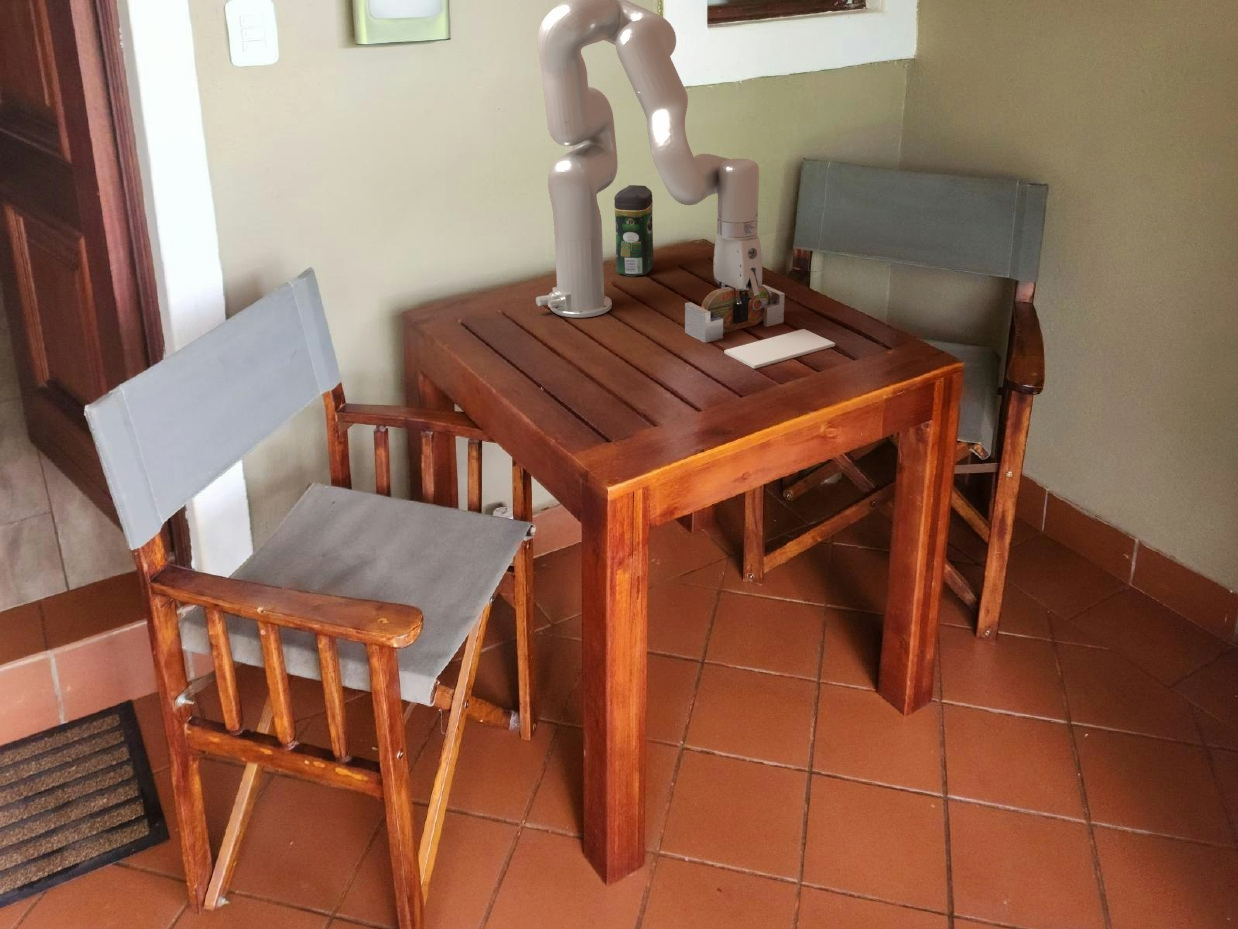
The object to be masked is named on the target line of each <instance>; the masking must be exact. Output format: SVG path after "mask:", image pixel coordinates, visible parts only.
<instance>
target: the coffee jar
mask: <svg viewBox="0 0 1238 929" xmlns="http://www.w3.org/2000/svg"><path fill="white" fill-rule="evenodd" d="M613 199H614V201H613V202H614V204H613V205H614V207H613V208H614V222H615V260H616V261H615V270H616V273H617V274H618V275H619V274H620V275H623V276H626V277H636V276H645V275H647V274H649V273H650V271H651V270H652V269H653V268H654V264H655V263H654V262H655V260H654V259H655V258H654V236H653V234H654V232H653V230H654V228H653V203H654V202H653V192H652V190H651V189H650V188H649V187H647V186H646V185H637V184H636V185H635V184H633V185H632V184H630V185H628V186H626V187H624V188H622V189H620V190H619V191H618V192H617V193H616V194H615V196H614V198H613Z"/></svg>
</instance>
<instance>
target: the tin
mask: <svg viewBox="0 0 1238 929" xmlns="http://www.w3.org/2000/svg"><path fill="white" fill-rule="evenodd" d="M762 285H763V284H762ZM762 285H761V286H760V287H758V291H759V295H758V296H755V297H753V298H752V299H751V302H749V306H748V321H746V322H742V323H738V324H735V323H734V322H733V309H734V304H736V290H735V288H733V287H731V286H730V287H726V288H721V289H720V288H718V289H717V288H716V289H715V290H712V291H710V292H709V293H708V294H707V295H706V296H705V298H704V299H703V301H702V303H701V306H700V307H702V308H704V309H706V310H708V311H710V319H714V318H718V317H721V318H723V334H726V333H729V332H733V331H737V330H741V329H744V328H749V327H753V326H756V325H758V324H760V323H761V322H762V321H764V306H766V305H770V294H769V292H768V290H767V289H766V288H765V287H764V286H762ZM744 293H745V291H743V292H741V294H742V295H743V294H744Z"/></svg>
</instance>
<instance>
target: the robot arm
mask: <svg viewBox="0 0 1238 929" xmlns="http://www.w3.org/2000/svg"><path fill="white" fill-rule="evenodd" d="M603 41H606V42H607V43H610V44H612V45H614V46H615V49H616V54H617V56H618V59H619V61H620V63H621V65H622V67H623V69H624V72H625V73H626V76H627V78H628V81H629V82H630V84H631V87H632V89H633V91H634V93H635V95H636V98H637V100H638V103H639V104H640V106H641V108H642V111H643V112H644V115H645V118H646V127H647V130H646V131H647V135H648V141H649V142H648V143H649V147H650V151H651V152H650V153H651V156H652V159H653V161H654V165H655V167H656V170H657V171H658V175H659V176H660V178H661V181H662V182H663V184H664V186H665V188H666V190H667V192H668V193H669V195H670V196H671V197H672V198H673V199H674V200H675V202H678V203H679V204H681V205H684V206H694V205H697V204H699V203H701V202H702V201H704V200H705V199H706V198H708V197H710V196H712V195H715V194H717V225H716V228H717V231H716V237H715V243H714V251H713V252H714V253H713V280H714V281H715V283H717V286H718V288H719V289H721V288H726V287H730V286H731V287H733V288H735V290H736V304H734V309H733V322H734V323H735V324H738V323H742V322H746V321H748V306H749V302H751V299H752V298H753V297H755V296H758V295H759V291H758V287H760V286H761V285H763V257H762V256H763V254H762V246H761V241H760V237H759V236H758V220H759V215H758V214H759V197H760V196H759V190H760V168H759V167H760V166H759V164H758V163H757V162H755V161H754V160H751V159H747V158H727V157H722V156H719V155H716V154H715V155H714V154H710V153H699V154H696V155H694V154H693V152H692V150H691V148H690V146H689V145H690V144H689V142H688V138H687V133H686V115H687V111H688V105H689V96H688V92H687V91H686V88H685V86H684V84H683V82H682V80H681V78H680V76H679V73H678V71H677V69H676V67H675V65H674V64H675V63H674V61H673V59H672V58H671V56H672V55H673V53H674V51H675V50H676V45H677V35H676V32H675V30H674V27H673V26H672V25H671V23H670V22H669V21H668V20H667V19H665V18H664V17H663V16H661V15H660V14H657V13H655V12H653V11H652V10H649V9H646V8H644V7H642V6H640V5H638V4H635V3H633V2H631V1H629V0H564V1H562V2H561V3H559V4H557V5H556V6H555V7H554V8H552V9H551V10H550V11H549V12H548V13H547V14H546V15H545V17H544V18H543V19H542V22H541V24H540V26H539V29H538V34H537V50H538V56H539V57H538V58H539V64H540V69H541V77H542V89H543V97H544V104H545V105H544V106H545V114H546V122H547V123H546V124H547V128H548V129H547V130H548V133H549V134H550V137H551V139H552V140H553V141H555V143H557V144H559V145H560V146H564V147H572V150H571V151H569V152H567V153H566V154H563V155H562V156H559V158H557V159H556V160H555V162H553V164H552V166H551V168H550V169H549V172H548V175H547V176H548V177H547V188H548V195H549V199H550V202H551V207H552V218H553V219H552V220H553V232H554V247H555V248H554V249H555V251H554V252H555V268H556V269H555V270H556V271H555V272H556V286H554V287H552V291H551V292H549V294H547V295H546V294H545V295H540V296H539V295H538V296H536V297H535V302H536V303H535V304H536V305H537V307H541V306H546V305H548V307H549V308H550V310H551V311H552V313H555V314H556V315H558V316H561V317H565V318H566V317H567V318H577V319H579V318H580V319H581V318H583V319H584V318H592V317H596V316H600V315H603V314H605V313H608V312H609V311H610V310H611V309H612V306H613V303H612V299H611V298H610V297H608V296H607V295H605V294H604V293H605V292H604V291H605V288H604V285H605V284H604V257H603V256H604V255H603V254H604V253H603V252H604V251H603V224H602V222H603V221H602V214H601V210H600V207H599V204H598V203H599V202H598V198H597V195H598V194H599V193H601V192H602V191H604V190H605V189H607V188H608V187H610V186H611V185H612V184H613V182H614V181H615V179H616V176H617V173H618V168H619V167H618V153H617V152H618V150H617V140H616V130H615V120H614V113H613V109H612V106H611V103H610V101H609V99H608V98H607V96H606V95H605V94H604V93H603V92H601V91H600V90H599V89H597V88H595V87H591V86H589V83H588V82H589V81H588V69H587V65H586V63H585V60H584V58H583V55H582V49H583V48H584V47H587V46H589V45H592V44H595V43H599V42H603ZM743 291H745V293H744V294H743V295H742V294H741V292H743Z"/></svg>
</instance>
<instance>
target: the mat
mask: <svg viewBox="0 0 1238 929" xmlns="http://www.w3.org/2000/svg"><path fill="white" fill-rule="evenodd" d="M833 347H836V343H835V342H833V341H832V340H829V339H827V338H824V337H822V336H820V335H818V334H816V333H814V332H811V331H810V330H807V329H805V328H803V329H798V330H794V331H791V332H787V333H784V334H779V335H775V336H772V337H769V338H764V339H760V340H757V341H754V342H753V341H752V342H750V343H746V344H742V345H739V346H738V345H737V346H735V347H731V348H727V349H725V350H723V351H724V352H723V353H724V354H725V355H727V356H728V357H731V358H733V359H735V360H736V361H738V362H740V363H742V364H744V365H747V366H748V367H750V368H752V369H758V368H762V367H765V366H769V365H772V364H776V363H780V362H783V361H788V360H790V359H793V358H797V357H800V356H805V355H807V354H812V353H815V352H819V351H822V350H826V349H828V348H833Z"/></svg>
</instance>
